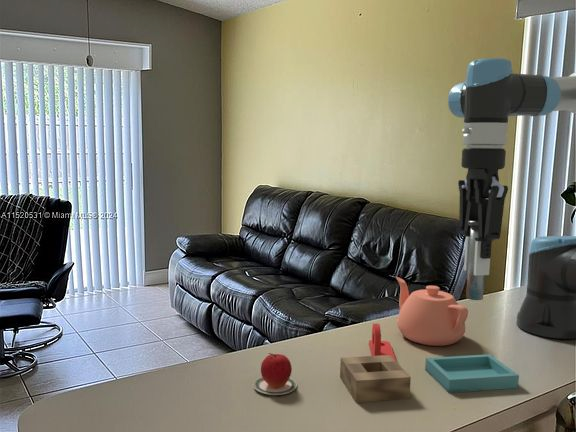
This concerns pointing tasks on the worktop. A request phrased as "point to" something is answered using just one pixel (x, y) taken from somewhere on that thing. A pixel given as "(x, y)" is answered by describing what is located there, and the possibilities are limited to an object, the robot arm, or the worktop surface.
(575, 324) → the robot arm
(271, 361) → the apple
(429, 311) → the teapot
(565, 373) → the worktop surface
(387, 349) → the bracket
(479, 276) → the pin
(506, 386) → the tray
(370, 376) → the block
